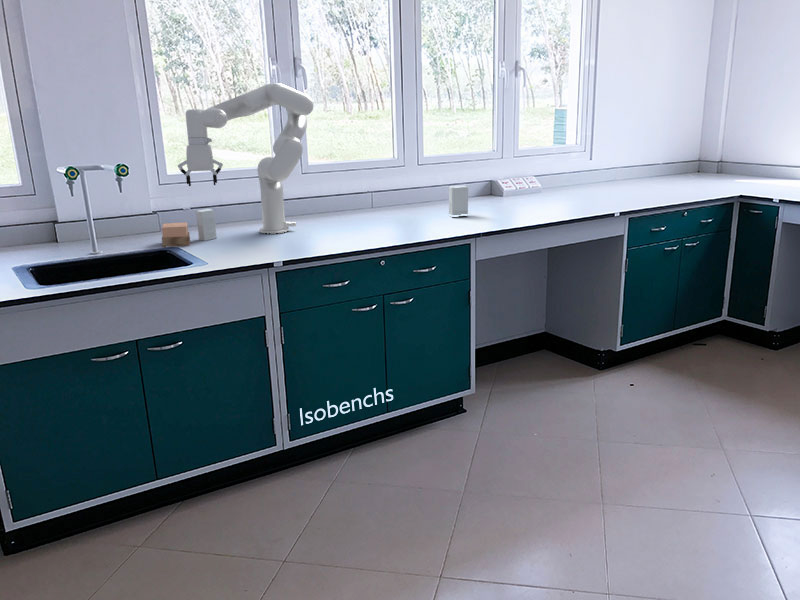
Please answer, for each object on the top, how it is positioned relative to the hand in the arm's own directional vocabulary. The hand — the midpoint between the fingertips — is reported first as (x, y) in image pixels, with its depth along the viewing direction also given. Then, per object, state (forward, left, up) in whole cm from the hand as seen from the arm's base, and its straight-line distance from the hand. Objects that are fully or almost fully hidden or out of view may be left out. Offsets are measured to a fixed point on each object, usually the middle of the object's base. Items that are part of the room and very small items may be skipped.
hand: (202, 185), depth 264 cm
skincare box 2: (-117, -18, -22) cm, 121 cm away
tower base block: (+12, +6, -22) cm, 26 cm away
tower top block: (+12, +6, -18) cm, 23 cm away
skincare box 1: (0, 0, -22) cm, 22 cm away
